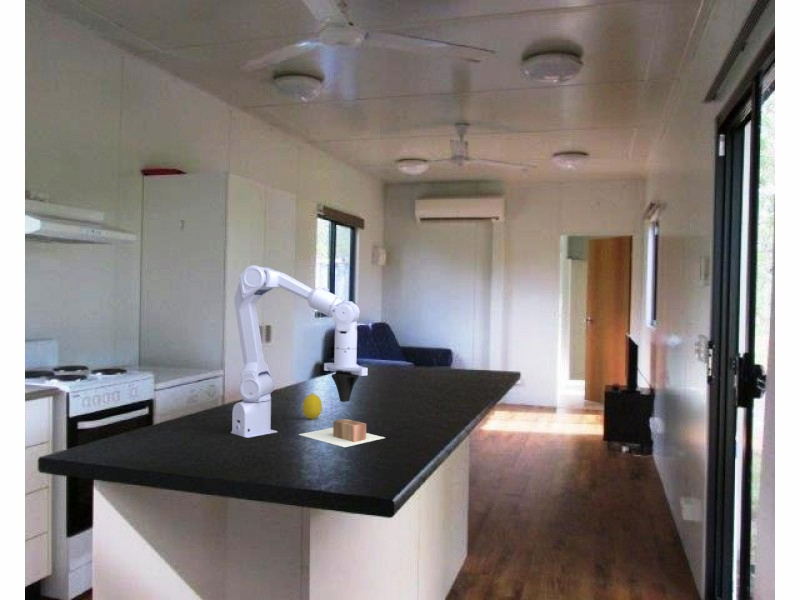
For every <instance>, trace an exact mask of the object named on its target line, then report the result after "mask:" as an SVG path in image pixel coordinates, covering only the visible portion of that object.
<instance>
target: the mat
mask: <svg viewBox="0 0 800 600" xmlns="http://www.w3.org/2000/svg"><path fill="white" fill-rule="evenodd" d="M298 436H302V437H305V438H309V439H313V440H316V441H319V442H323V443H328V444H331V445H334V446H338V447H343V448H348V447H353V446H356V445H360V444H365V443H370V442H374V441H377V440H382V439H386V437H384V436H379V435H376V434H372V433H369V432H366V440H362V441H357V442H352V441H348V440H344V439H340V438H337V437H333V427H329V428H322V429H320V430H319V429H318V430H315V431H314V430H312V431H309V432H304V433H299V434H298Z"/></svg>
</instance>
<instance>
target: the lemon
mask: <svg viewBox="0 0 800 600" xmlns="http://www.w3.org/2000/svg"><path fill="white" fill-rule="evenodd" d="M302 403H303V404H302V412H303V415H304V416H305V418H308V419H309V420H315V419H317V418H318V417H319V416H320V415H321V413H322V409H323V407H322V400H321V398H320V397H319V395H316V394H314V392H313V393H311V394H309V395H306V397H305V398H304V400H303V402H302Z"/></svg>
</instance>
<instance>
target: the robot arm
mask: <svg viewBox="0 0 800 600" xmlns="http://www.w3.org/2000/svg"><path fill="white" fill-rule="evenodd" d="M238 280H239V282H238V286H237V289H236V291H235V293H234V298H233V300H234V308H235V313H236V315H235V316H236V320H237V321H236V322H237V327H238V333H239V341H240V347H241V354H242V362H243V367H242V369H241V371H240V375H239V376H240V383H239V386H238V390H239V394H240V395H241V397H242V401H240V402H236V403H235V404H234V405H233V407H232V418H231V419H232V420H231V421H232V423H231V424H232V425H231V427H232V429H231V431H230V433H231V434H233V435H236V436H240V437H243V438H254V437H258V436H264V435H271V434H274V433H275V434H276V433H278V431H277V430H274V429H271V427H272V425H271V424H272V423H271V421H272V420H271V419H272V418H271V417H272V397H271V393H272V392H273V391H274V390H275V386H276V383H275V379H274V377H273V376H272V374H271V372H270V367H269V365H268V364H267V363H266V361H265V355H264V350H263V342H262V336H261V330H260V322H259V316H258V311H257V303H258V302H259V300H260V299H261V298H262V297H263V295H265V294H267V293H268V292H270V291H271V290H273V289H274V288H276V289H283V290H286V291H288V292H289V293H292V294H294V295H295V296H298V297H301V298H302V299H305V300H307V302H308V303H307V304H308V305H309V307H310V308H311V309H314V310H315V311H317V312H320V313H321V314H323V315H326V316H327V317H328V318H332V319H333V321H334V322H335V329H334V352H333V353H334V355H333V356H334V359H333V361H334V362H324V363H323V365H324V366H323V371H326V372H328V371H330V372H335V373H332V374H331V378H332V380H333V381H334V384H335V386H336V390H337V394H338V398H339V402H340V403H341V402H342V403H346V402H350V400H351V395H352V391H353V390H354V389H353V388H354V387H355V384H356V383H357V381H358V379H359V376H360V377H363V376H364V377H367V376H368V367H365V366H361V365H359V364H357V359H358V358H357V355H358V354H357V353H358V351H357V350H358V320H359V317H360V308H359V307H358V305H357V304H356V303H355V302H354V301H350V300H347V301H345V299H346V297H344V296H338V295H336V294H334V293H333V292H330V289H329V288H327V287H321V286H320V287H316V288H314V289H313V288H311V287H310V286H308V285H307V284H305V283H303V282H301V281H299V280H298V279H295V278H294V277H292V276H290V275H289V274H287V273H284V272H282V271H279V270H275V269H273V268H271V267H267V266H265V267H264V266H263V267H262V266H259V265H249V266H248V267H246V268H245V269H244V270H243V271H242V272H241V273H240V274H239V276H238Z"/></svg>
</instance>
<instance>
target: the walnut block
mask: <svg viewBox="0 0 800 600" xmlns="http://www.w3.org/2000/svg"><path fill="white" fill-rule="evenodd" d="M332 428H333V437H337V438H340V439H344V440H348V441H352V442H357V441H362V440H366V433H367V423H365V422H361V421H357V420H352V419H348V418H343V419H337V420H333V426H332Z"/></svg>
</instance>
